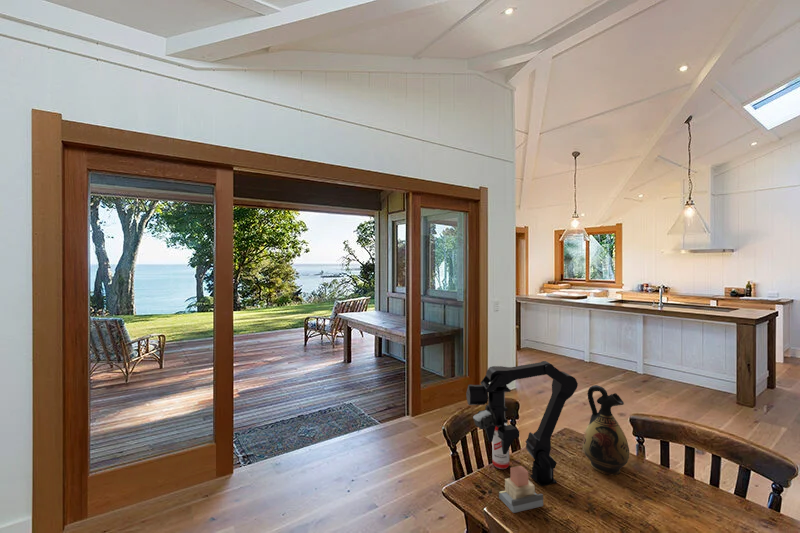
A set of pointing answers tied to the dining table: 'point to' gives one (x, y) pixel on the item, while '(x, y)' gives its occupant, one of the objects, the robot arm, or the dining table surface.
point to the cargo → (519, 476)
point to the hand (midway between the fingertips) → (497, 447)
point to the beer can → (499, 452)
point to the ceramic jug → (605, 435)
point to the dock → (521, 502)
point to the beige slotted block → (519, 489)
